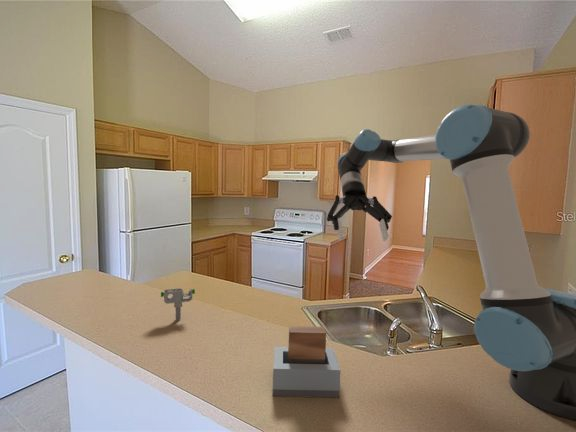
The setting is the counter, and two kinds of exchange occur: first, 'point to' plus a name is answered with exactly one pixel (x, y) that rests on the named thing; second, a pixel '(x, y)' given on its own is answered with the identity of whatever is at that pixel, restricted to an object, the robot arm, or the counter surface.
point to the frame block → (305, 376)
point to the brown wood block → (306, 345)
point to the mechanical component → (177, 299)
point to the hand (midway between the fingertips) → (363, 238)
